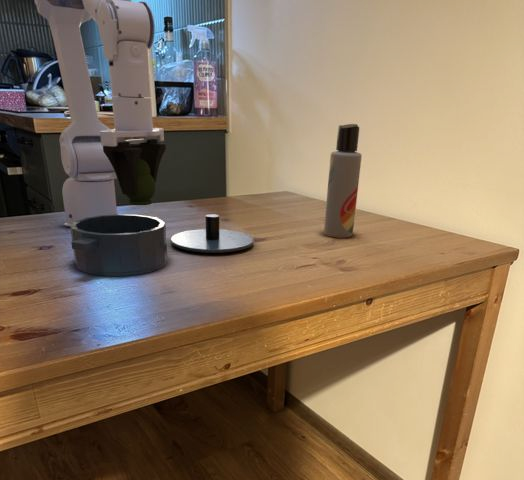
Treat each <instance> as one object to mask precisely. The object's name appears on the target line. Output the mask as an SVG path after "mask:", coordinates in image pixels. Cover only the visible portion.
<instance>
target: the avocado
mask: <svg viewBox="0 0 524 480" xmlns="http://www.w3.org/2000/svg"><path fill="white" fill-rule="evenodd" d="M156 186H157V185H156V184H155V181H154V179H153V177H152V176H151V175H150V168H149V166H148V164H147V163H146V162H145V161H144V160H142V159H139V162H138V169H137V192H136V195H125V196H126V198H127V199H128V204H129V205H131V206H149V205H151V204H152V203H153V202H152V198H153V197H154V195H155V193H156V191H157V190H156V188H157V187H156Z"/></svg>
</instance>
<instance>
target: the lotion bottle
mask: <svg viewBox="0 0 524 480" xmlns="http://www.w3.org/2000/svg"><path fill="white" fill-rule="evenodd" d="M359 137H360V126H359V125H358V124H357V123H348V124H347V123H346V124H343V125H342V124H341V125H338V127H337V137H336V145H335V146H336V148H335V150H336V151H335V150H334V151H332V152H331V153H330V158H329V167H328V168H329V170H328V179H327V180H328V181H327V191H326V192H327V193H326V201H325V202H326V203H325V213H324V214H325V216H324V226H323V234H324V235H325V236H327V237H330V238H338V239H341V238H342V239H345V238H350V237H352V236H353V234H354V227H355V220H356V219H355V218H356V210H357V200H358V192H359V185H360V184H359V182H360V175H361V174H360V173H361V165H362V157H363V156H362V153H360V152H358V146H359Z"/></svg>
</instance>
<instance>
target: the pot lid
mask: <svg viewBox="0 0 524 480" xmlns="http://www.w3.org/2000/svg"><path fill="white" fill-rule="evenodd" d="M170 242H171V244H172V245H173V246H174V247H176V248H177V249H182V250H185V251H191V252H196V253H197V252H198V253H205V254H206V253H207V254H221V253H230V252H238V251H242V250H245V249H248V248H250V247H252V246H253V245H254V242H255V238H254V237H253V236H252V235H250V234H248V233H246V232H242V231H238V230H232V229H224V228H223V229H221V228H220V215H219V214H215V213H214V214H206V215H205V228H201V229H190V230H184V231H181V232H178V233H175V234H174V235H172V236H171V237H170Z"/></svg>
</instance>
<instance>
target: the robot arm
mask: <svg viewBox="0 0 524 480" xmlns="http://www.w3.org/2000/svg"><path fill="white" fill-rule="evenodd" d="M33 1H34V4H35V6H36V11H37V13H38V14H39V15H40V16H41V17H42V18H44V19H45V20H47V21H48V25H49V28H50V32H51V36H52V40H53V45H54V49H55V53H56V58H57V63H58V67H59V73H60V76H61V82H62V86H63V90H64V95H65V99H66V100H65V101H66V104H67V108H68V113H69V119H70V122H71V123H70V124H69V125H68V126H66V127H65V129H63V131H61V133H60V136H59V140H58V141H59V145H60V158H61V159H60V160H61V164H62V167H63V170H64V172H65V174H66V175H68V176H69V177H68V178H66V180H65V181H64V182H63V185H62V191H61V192H62V201H63V208H64V215H65V222H64V223H63V226H64V227H68V228H70V225H71V224H72V223H73V222H75V221H77V220H80V219H84V218H87V217H94V216H101V215H116V214H118V211H117V209H118V208H117V198H116V197H117V196H116V188H115V187H116V186H115V180H117V181H118V184H119V187H120V190H121V193H122V195H125V196H126V195H136V192H137V169H138V162H139V159H142V160H144V161H145V162H146V163H147V164H148V166H149V168H150V175H151V176H152V177H153V179H154V181H155V185H156V183H157V179H158V178H157V177H158V173H159V169H160V168H159V167H160V164H161V161H162V158H163V156H164V153H165V152H166V150H167V147H166V146H167V145H166V142H165V143H164V141H165V133H164V132H165V131H164V128H162V127H154V123H153V107H152V105H153V103H152V89H151V88H152V87H151V86H152V85H151V72H150V56H149V55H150V54H149V50H150V49H151V48H152V46H153V44H154V41H155V35H156V34H155V31H156V27H155V26H156V25H155V18H154V14H153V11H152V9H151V7H150V6H149V4H148V3H147V1H143V0H142V1H132V0H33ZM91 19H93V21H94V22H95V23H96V24H97V28H98V33H99V38H100V40H101V43H102V47H103V56H104V59H105V61H107V62H108V70H109V80H110V81H109V82H110V92H111V93H110V94H111V103H112V114H113V124H114V128H112V129H111V128H109V127H108V126H107V125H105V124H104V123H102V122H101V121H100V119H99V115H98V110H97V105H96V101H95V96H94V91H93V87H92V82H91V77H90V72H89V66H88V63H87V57H86V52H85V48H84V43H83V38H82V34H81V25H82V24H84V23H85V22H87V21H90V20H91Z"/></svg>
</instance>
